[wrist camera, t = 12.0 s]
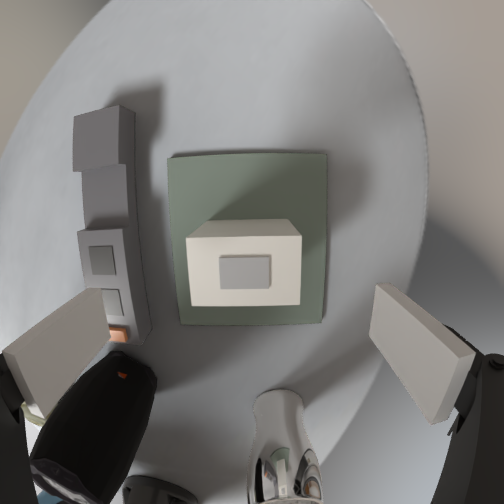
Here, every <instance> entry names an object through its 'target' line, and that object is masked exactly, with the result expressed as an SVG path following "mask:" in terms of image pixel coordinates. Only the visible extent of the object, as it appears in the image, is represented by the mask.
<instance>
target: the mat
mask: <svg viewBox="0 0 504 504" xmlns="http://www.w3.org/2000/svg"><path fill="white" fill-rule="evenodd" d="M167 167H168V195H169V214H170V229H171V242H172V254H173V265H174V275H175V284H176V293H177V301H178V309H179V316H180V324H181V325H226V326H241V325H289V324H312V323H321V322H322V310H323V296H324V281H325V261H326V234H327V154H309V153H247V154H222V155H204V156H190V157H178V158H168V159H167ZM247 219H288V220H289V221H290V222H291V223H292V225H293V226H294V227H295V228H296V229H297V231H298V232H299V233H300V234H301V235H302V250H301V288H300V305H278V306H192V304H191V294H190V284H189V273H188V261H187V249H186V237H188V236H189V235H190V234H191V233H193V232H194V231H195V230H196V229H198V228H199V227H200V226H201V225H203V224H204V223H205V222H206V221H210V220H247Z"/></svg>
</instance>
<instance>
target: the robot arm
mask: <svg viewBox="0 0 504 504" xmlns="http://www.w3.org/2000/svg"><path fill="white" fill-rule="evenodd" d="M369 337H370V338H371V340H372V341H373V342H374V344H375V345H376V347H377V348H378V349H379V351H380V352H381V354H382V355H383V356H384V358H385V359H386V361H387V362H388V363H389V365H390V366H391V368H392V369H393V371H394V372H395V373H396V375H397V376H398V378H399V379H400V380H401V382H402V384H403V385H404V387H405V388H406V389H407V391H408V392H409V394H410V395H411V397H412V398H413V400H414V401H415V403H416V404H417V406H418V407H419V409H420V410H421V412H422V413H423V415H424V416H425V418H426V419H427V421H428V423H429V424H430V425H433V424H436V423H439V422H442V421H445V420H447V419H448V418H449V415H450V414H451V412H452V410H453V408H454V407H455V408H456V409H457V410H458V412H459V413H458V415H457V417H456V419H455V421H454V423H453V425H452V427H451V428H450V430H449V432H448V434H447V435H448V436H449V435H450V434H451V432H452V431H453V433H452V437H451V441H450V445H449V449H448V453H447V456H446V460H445V463H444V467H443V470H442V473H441V476H440V479H439V482H438V485H437V488H436V491H435V493H434V496H433V499H432V501H431V504H504V356H503V355H500V354H488V355H483V354H482V353H481V352H480V351H479V350H478V349H476V348H475V347H474V346H473V345H472V344H471V343H469V342H468V341H466V339H465V338H463V337H462V336H460V334H458V333H457V332H456V331H455V330H454V329H452V328H450V327H448V326H446V325H444V324H441V323H440V322H439V321H438V320H436V319H435V318H434V317H433V316H432V315H430V314H429V313H428V312H426V311H425V310H424V309H423V308H421V307H420V306H419V305H418V304H416V303H415V302H414V301H413V300H411V299H410V298H409V297H407V296H406V295H405V294H404V293H402V292H401V291H400V290H398V289H397V288H396V287H395V286H393V285H392V284H391V283H381V284H376V287H375V295H374V303H373V311H372V318H371V324H370V330H369ZM110 338H111V334H110V330H109V326H108V322H107V317H106V313H105V308H104V303H103V298H102V292H101V288H87V289H86V290H84V291H83V292H81V293H80V294H78V295H77V296H75V297H74V298H73V299H71V300H70V301H68V302H67V303H65V304H64V305H63V306H61V307H60V308H58V309H57V310H56V311H54V312H53V313H51V314H50V315H49V316H47V317H46V318H44V319H43V320H42V321H40V322H39V323H38V324H36V325H35V326H34V327H32V328H31V329H30V330H28V331H27V332H26V333H24V334H23V335H22V336H20V337H19V338H18V339H16V340H15V341H14V342H13V343H11V344H10V345H9V346H7V347H6V348H5V349H4V350H2V353H1V354H0V504H69V503H67V502H66V501H64V500H62V499H60V498H58V497H57V496H51V495H49V494H48V493H47V492H45V491H44V490H43V491H42V492H41V493H40V494H39V495H38V496H37V495H36V491H35V486H34V482H33V477H32V472H31V467H30V461H29V455H28V448H27V440H26V431H25V418H24V412H23V409H22V408H21V405H22V404H23V402H24V401H25V403H26V405H27V407H28V408H29V410H30V412H31V413H32V414H34V415H37V416H39V417H41V418H44V419H45V418H46V416H47V415H48V414H49V413H50V411H51V410H52V409H53V407H54V406H55V405H56V404H57V402H58V401H59V400H60V398H61V397H62V396H63V395H64V393H65V392H66V391H67V390H68V388H69V387H70V386H71V385H72V384H73V382H74V381H75V380H76V379H77V377H78V376H79V375H80V374H81V373H82V371H83V370H84V369H85V368H86V367H87V365H88V364H89V363H90V362H91V361H92V359H93V358H94V357H95V356H96V355H97V353H98V352H99V351H100V350H101V349H102V348H103V346H104V345H105V344H106V343H107V342H108V341H109V339H110ZM122 493H123V504H197V503H198V501H197V499H196V498H195V496H194V495H192V494H191V493H189V492H188V491H186V490H184V489H182V488H180V487H178V486H176V485H173V484H170V483H167V482H164V481H161V480H157V479H153V478H148V477H142V476H132V477H128V478H126V480H125V482H124V485H123V488H122Z"/></svg>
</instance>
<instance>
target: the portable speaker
mask: <svg viewBox="0 0 504 504" xmlns="http://www.w3.org/2000/svg"><path fill="white" fill-rule="evenodd" d="M156 388H157V378H156V376H155V375H154V373H153V371H152V370H151V368H148V367H144V366H142V365H141V364H139V363H138V362H136V361H134V360H133V359H131V358H129V357H127V356H125V355H124V353H123V352H122V351H111V352H110V353H109V354H108V355H107V356H105V357H104V358H103V359H102V360H100V361H99V362H98V363H97V364H95V365H94V366H93V367H91V368H90V369H89V370H88V371H86V372H85V373H84V374H83V375H82V376H81V377H80V378H79V379H78V381H77V382H76V383H75V384H74V385H73V387H72V388H71V389H70V390H69V391H68V393H67V394H66V395H65V396H64V397H63V399H62V400H61V401H60V402H59V404H58V405H57V406H56V407H55V409H54V410H53V411H52V413H51V415H50V416H49V418H48V419H47V421H46V422H45V424H44V425H43V427H42V428H41V431H40V433H39V435H38V438H37V440H36V442H35V444H34V447H33V449H32V452H31V454H30V456H29V461H30V467H31V472H32V477H33V481H34V482H35V483H36V485H37V486H39V487H40V488H41V489H43V490H44V491H45V492H47V493H48V494H49V495H51V496H57V497H58V498H60V499H62V500H64V501H66V502H67V503H69V504H110V502H111V501H112V499H113V498H114V496H115V495H116V493H117V491H118V490H119V488H120V487H121V485H122V484H123V482H124V480H125V479H126V477H127V475H128V472H129V470H130V467H131V464H132V462H133V459H134V457H135V454H136V452H137V449H138V447H139V444H140V442H141V440H142V437H143V435H144V432H145V430H146V427H147V425H148V421H149V417H150V412H151V408H152V404H153V400H154V394H155V391H156Z"/></svg>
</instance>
